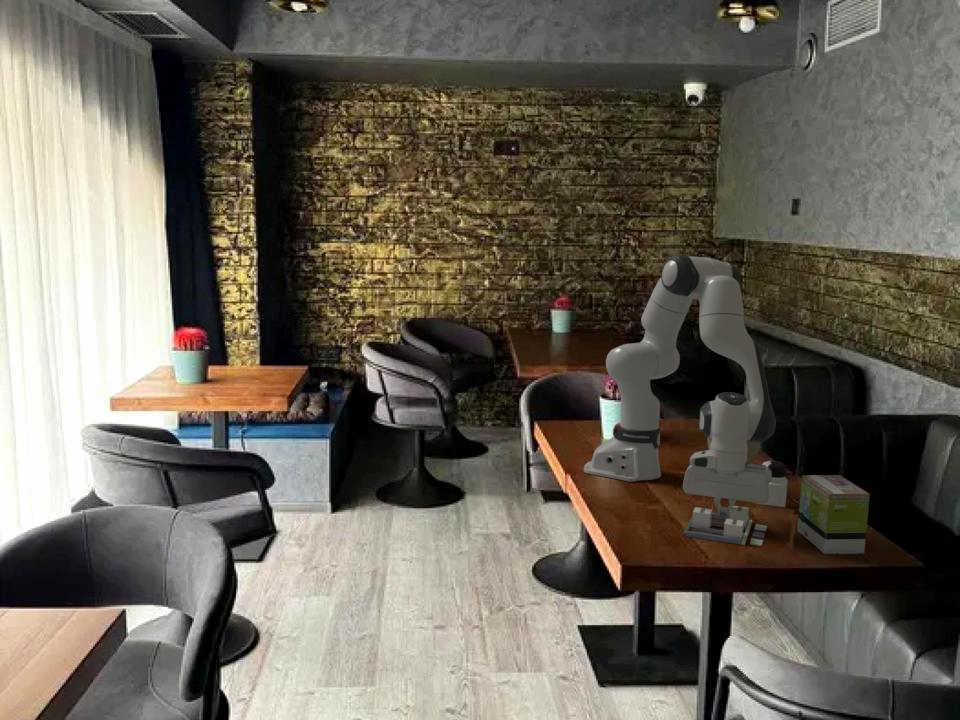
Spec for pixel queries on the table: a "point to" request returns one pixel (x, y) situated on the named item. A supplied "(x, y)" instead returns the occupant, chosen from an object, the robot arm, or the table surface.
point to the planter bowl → (751, 452)
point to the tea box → (833, 514)
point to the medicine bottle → (777, 484)
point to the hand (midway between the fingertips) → (723, 515)
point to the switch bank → (723, 538)
